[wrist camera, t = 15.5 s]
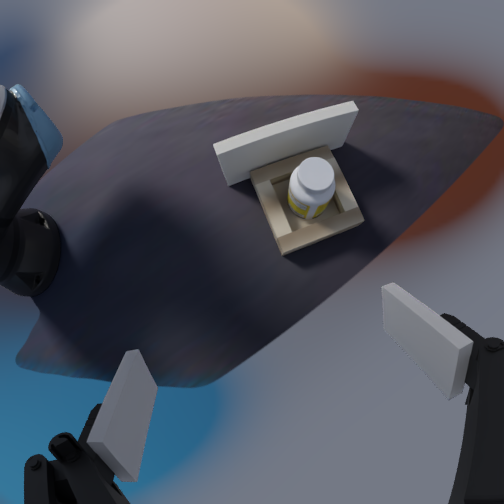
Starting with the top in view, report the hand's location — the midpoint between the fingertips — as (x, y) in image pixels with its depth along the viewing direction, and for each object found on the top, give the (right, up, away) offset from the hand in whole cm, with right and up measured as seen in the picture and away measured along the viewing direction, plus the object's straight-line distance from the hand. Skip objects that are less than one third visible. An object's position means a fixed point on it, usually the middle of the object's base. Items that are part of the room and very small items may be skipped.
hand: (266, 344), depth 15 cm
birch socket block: (+7, +11, +26) cm, 29 cm away
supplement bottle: (+7, +11, +26) cm, 29 cm away
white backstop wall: (+4, +18, +27) cm, 33 cm away
